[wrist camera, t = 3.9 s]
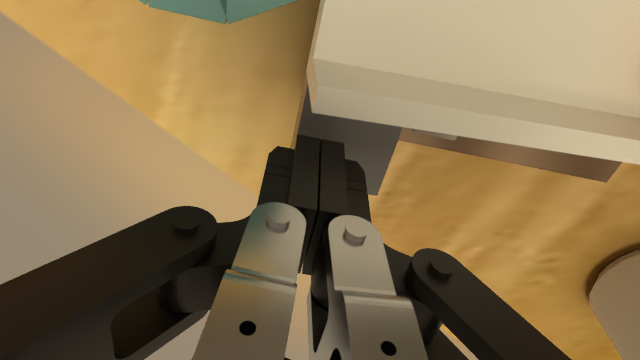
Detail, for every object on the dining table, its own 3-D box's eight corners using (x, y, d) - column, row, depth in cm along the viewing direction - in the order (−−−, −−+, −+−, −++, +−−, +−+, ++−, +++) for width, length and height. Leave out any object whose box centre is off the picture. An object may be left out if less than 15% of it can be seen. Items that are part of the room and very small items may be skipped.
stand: (816, -124, 15) (1050, -131, 10) (596, 171, 23) (669, 249, 18) (399, -253, 13) (439, -336, 8) (315, 113, 21) (310, 181, 16)
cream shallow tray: (843, -70, 12) (980, -56, 10) (611, 211, 19) (660, 260, 16) (366, -226, 9) (395, -261, 7) (286, 168, 16) (287, 221, 13)
